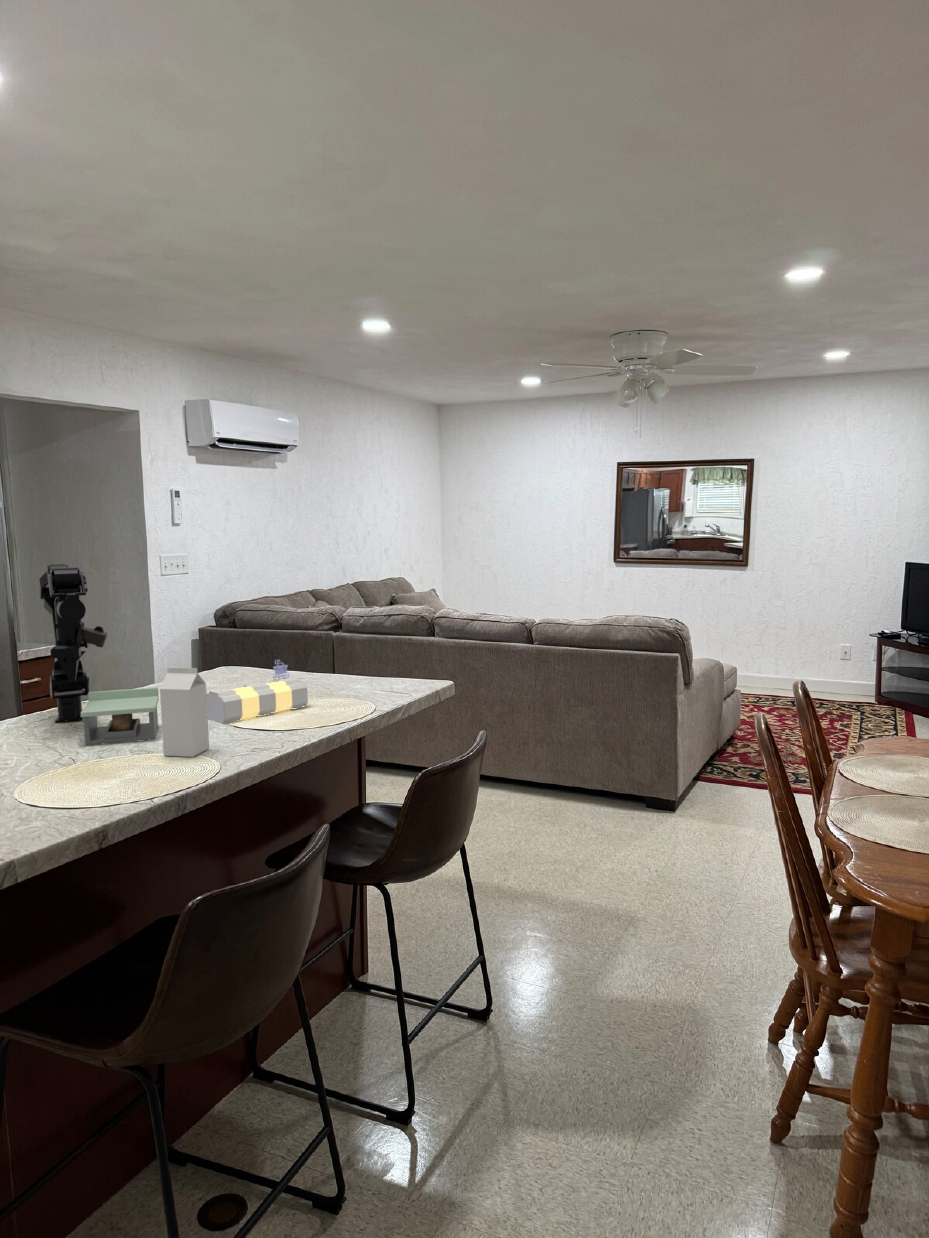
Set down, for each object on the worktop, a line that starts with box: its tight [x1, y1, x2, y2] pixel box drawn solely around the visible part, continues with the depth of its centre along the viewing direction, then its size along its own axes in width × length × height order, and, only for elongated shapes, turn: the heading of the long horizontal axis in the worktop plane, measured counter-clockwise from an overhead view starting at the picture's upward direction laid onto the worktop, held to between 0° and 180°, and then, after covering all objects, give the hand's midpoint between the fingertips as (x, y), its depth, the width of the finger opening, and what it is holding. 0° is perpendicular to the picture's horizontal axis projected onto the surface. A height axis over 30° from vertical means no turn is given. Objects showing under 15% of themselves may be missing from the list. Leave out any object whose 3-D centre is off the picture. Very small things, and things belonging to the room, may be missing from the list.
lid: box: [81, 686, 160, 717], centre depth 201 cm, size 15×16×3 cm
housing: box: [83, 706, 159, 746], centre depth 202 cm, size 14×15×6 cm
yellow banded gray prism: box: [206, 659, 309, 724], centre depth 223 cm, size 25×10×13 cm, turn 135°
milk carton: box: [159, 667, 210, 758], centre depth 185 cm, size 7×7×19 cm
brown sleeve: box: [111, 714, 131, 732], centre depth 199 cm, size 4×4×5 cm
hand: (72, 681), depth 208 cm, fingers closed
